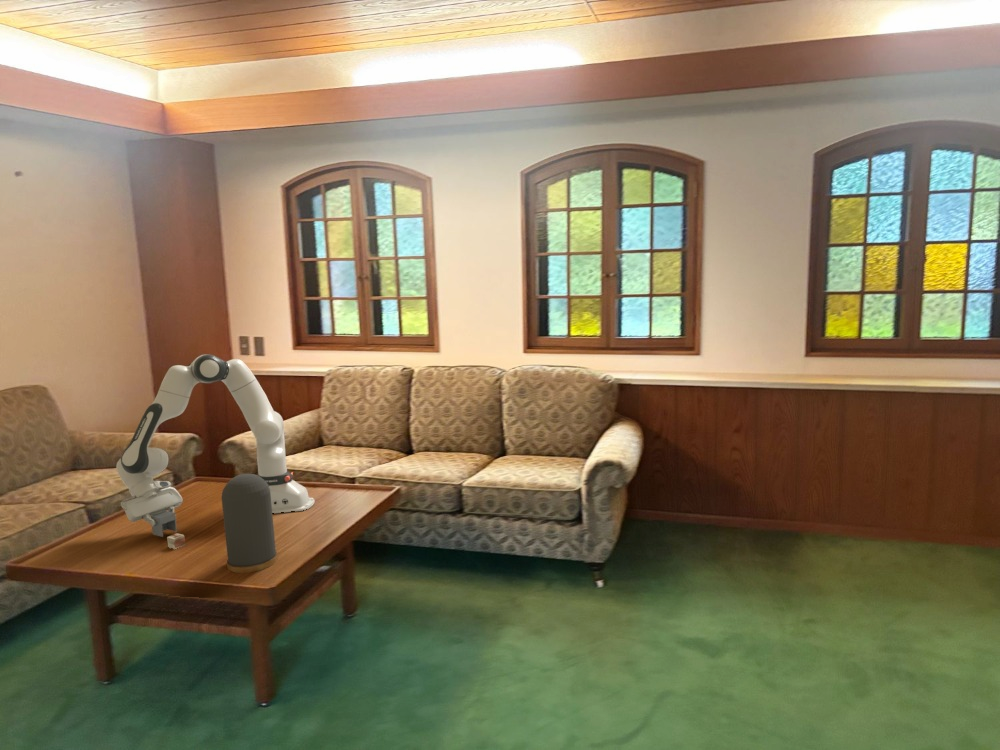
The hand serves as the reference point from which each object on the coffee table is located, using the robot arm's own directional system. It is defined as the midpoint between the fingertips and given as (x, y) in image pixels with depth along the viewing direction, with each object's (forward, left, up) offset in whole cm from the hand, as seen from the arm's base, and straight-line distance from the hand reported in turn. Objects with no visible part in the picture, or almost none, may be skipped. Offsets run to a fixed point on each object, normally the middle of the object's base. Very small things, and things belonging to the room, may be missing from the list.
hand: (164, 521), depth 255 cm
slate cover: (+1, 0, -4) cm, 4 cm away
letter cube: (-8, +10, -6) cm, 14 cm away
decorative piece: (-41, +26, -6) cm, 49 cm away
